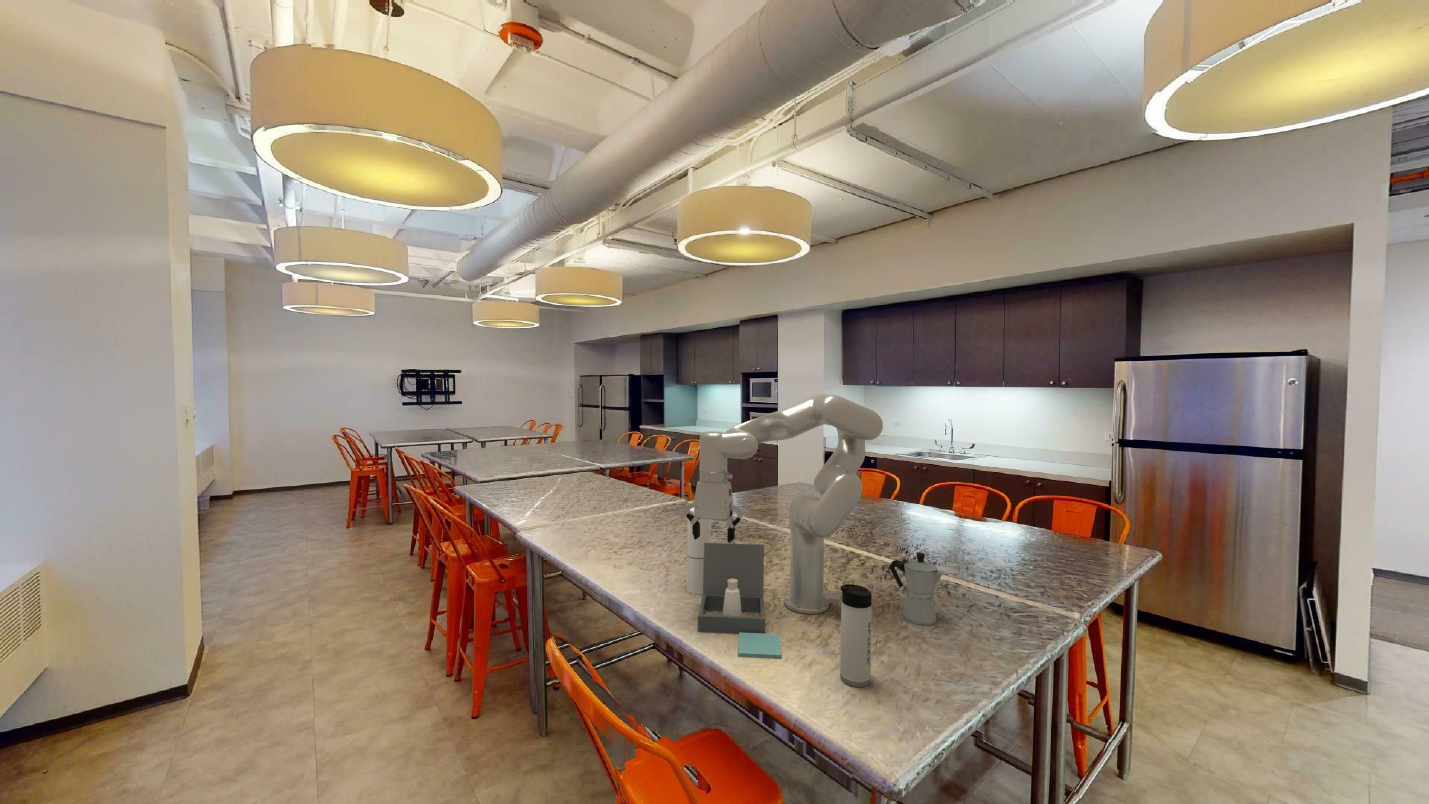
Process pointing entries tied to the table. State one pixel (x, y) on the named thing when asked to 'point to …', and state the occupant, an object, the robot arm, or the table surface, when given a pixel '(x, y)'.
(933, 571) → the coffee maker
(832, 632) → the table surface
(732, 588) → the salt shaker
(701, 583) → the cylindrical container
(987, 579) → the table surface
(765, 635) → the pad
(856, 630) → the travel mug
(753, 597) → the case
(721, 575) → the lid
